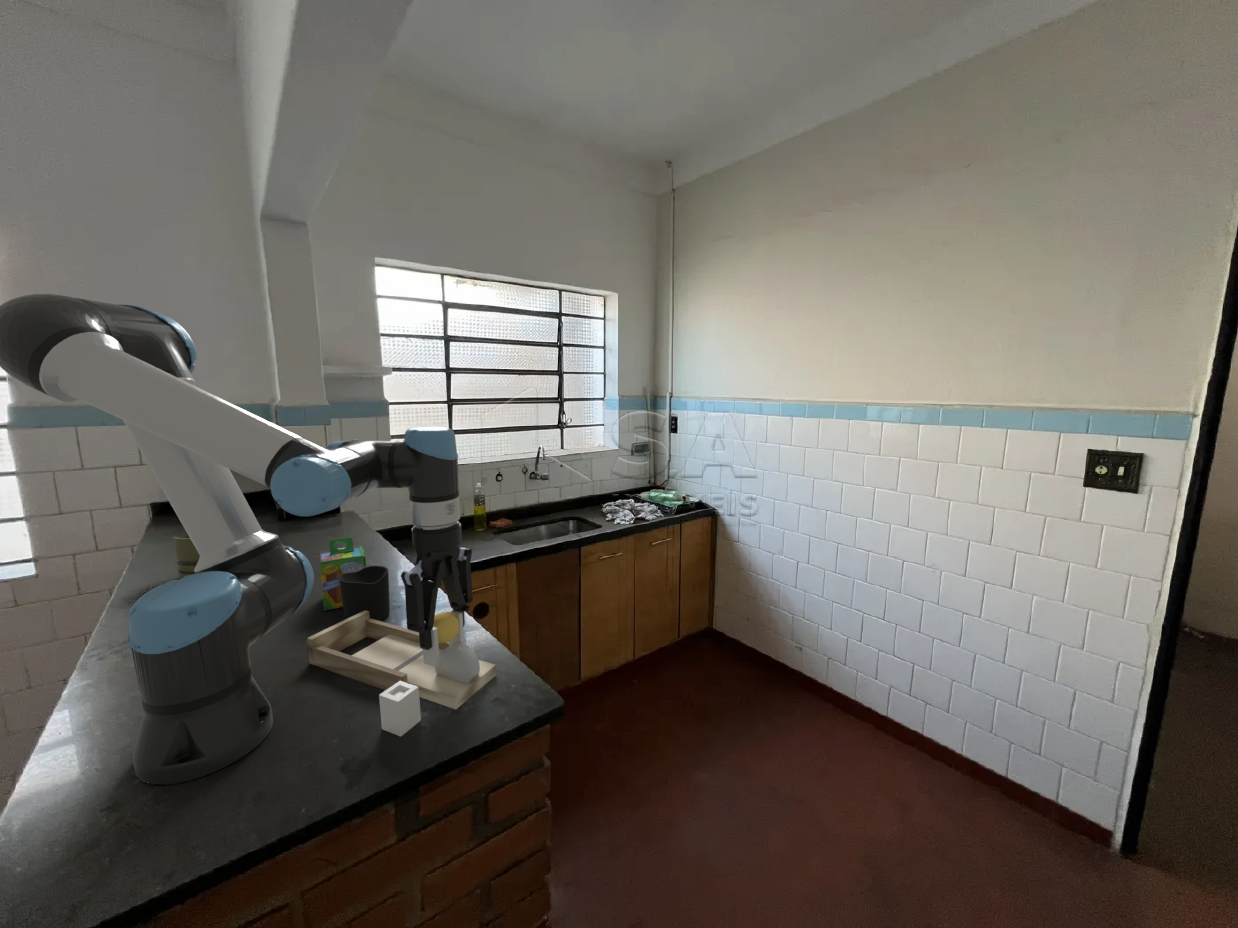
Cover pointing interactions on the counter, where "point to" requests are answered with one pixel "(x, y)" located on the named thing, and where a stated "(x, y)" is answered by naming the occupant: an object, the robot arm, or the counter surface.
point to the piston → (185, 555)
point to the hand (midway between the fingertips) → (444, 654)
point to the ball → (446, 626)
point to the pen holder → (366, 592)
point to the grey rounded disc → (458, 663)
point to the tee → (400, 708)
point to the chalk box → (338, 569)
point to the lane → (390, 660)
